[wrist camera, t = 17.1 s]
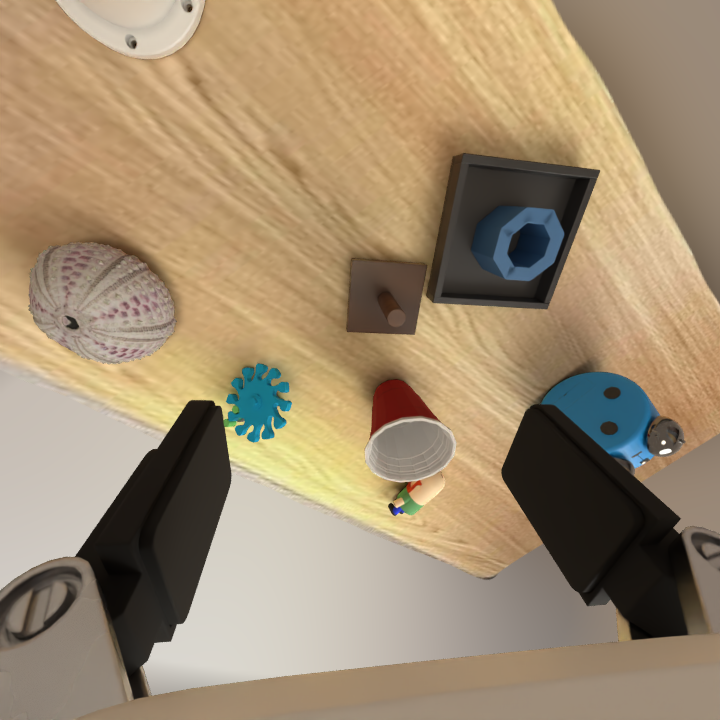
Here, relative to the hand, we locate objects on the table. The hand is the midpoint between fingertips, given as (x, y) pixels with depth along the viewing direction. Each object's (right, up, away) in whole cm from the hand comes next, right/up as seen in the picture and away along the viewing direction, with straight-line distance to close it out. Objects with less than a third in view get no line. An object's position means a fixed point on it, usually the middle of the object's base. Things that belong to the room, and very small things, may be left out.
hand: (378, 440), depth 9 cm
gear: (-15, -1, +34) cm, 37 cm away
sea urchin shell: (-28, +10, +26) cm, 40 cm away
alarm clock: (+32, -3, +40) cm, 51 cm away
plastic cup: (+4, -3, +37) cm, 37 cm away
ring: (+16, +17, +27) cm, 36 cm away
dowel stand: (+2, +10, +29) cm, 31 cm away
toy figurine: (+9, -20, +46) cm, 51 cm away
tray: (+16, +17, +27) cm, 36 cm away
